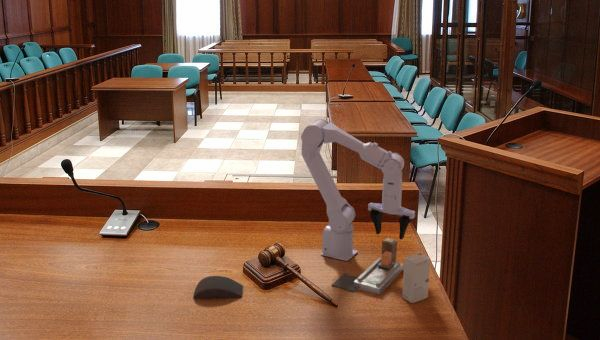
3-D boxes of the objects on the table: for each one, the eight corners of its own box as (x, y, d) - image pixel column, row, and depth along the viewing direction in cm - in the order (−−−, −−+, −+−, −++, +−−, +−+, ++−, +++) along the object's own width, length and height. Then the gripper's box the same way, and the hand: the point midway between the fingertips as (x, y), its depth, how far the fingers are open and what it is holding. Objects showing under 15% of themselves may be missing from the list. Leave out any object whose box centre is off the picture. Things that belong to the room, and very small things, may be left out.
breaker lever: (377, 266, 183) (377, 254, 182) (382, 260, 187) (383, 249, 185) (389, 269, 181) (390, 257, 180) (394, 263, 185) (395, 252, 184)
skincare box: (412, 303, 167) (415, 263, 163) (401, 297, 170) (403, 257, 167) (428, 297, 170) (431, 258, 166) (417, 291, 174) (419, 252, 170)
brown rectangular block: (381, 262, 191) (382, 241, 189) (385, 258, 194) (386, 237, 191) (391, 265, 189) (392, 243, 187) (396, 260, 192) (397, 239, 190)
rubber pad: (331, 285, 176) (331, 284, 176) (344, 274, 183) (344, 273, 183) (353, 291, 173) (353, 290, 173) (365, 280, 180) (365, 279, 179)
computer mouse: (195, 287, 176) (195, 274, 175) (243, 286, 177) (242, 273, 176) (192, 301, 169) (191, 288, 168) (242, 300, 169) (241, 287, 168)
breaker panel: (353, 288, 175) (353, 279, 174) (378, 263, 190) (379, 255, 189) (379, 295, 171) (379, 286, 170) (403, 269, 186) (403, 261, 185)
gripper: (419, 194, 184) (417, 235, 188) (375, 186, 191) (373, 226, 195) (411, 201, 179) (408, 244, 183) (365, 193, 186) (364, 234, 190)
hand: (390, 235), depth 189 cm, fingers open, 7 cm apart
